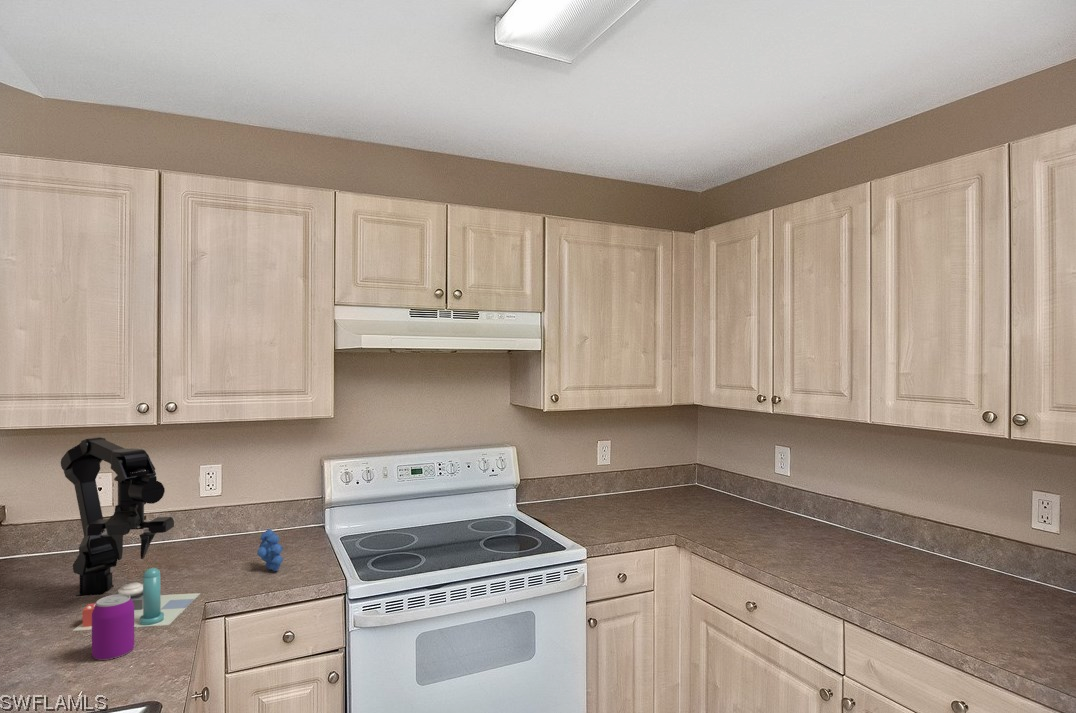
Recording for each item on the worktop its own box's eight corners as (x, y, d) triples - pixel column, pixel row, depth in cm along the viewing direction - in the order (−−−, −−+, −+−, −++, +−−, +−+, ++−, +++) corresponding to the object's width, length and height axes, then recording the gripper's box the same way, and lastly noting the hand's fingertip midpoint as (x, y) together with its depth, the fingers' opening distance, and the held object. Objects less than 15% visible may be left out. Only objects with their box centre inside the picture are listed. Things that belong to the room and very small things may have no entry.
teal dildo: (135, 625, 150) (135, 572, 150) (145, 617, 155) (145, 565, 155) (158, 624, 150) (158, 571, 150) (167, 615, 155) (167, 564, 155)
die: (82, 627, 149) (82, 608, 149) (88, 620, 153) (88, 602, 153) (102, 624, 150) (102, 606, 150) (107, 618, 154) (107, 600, 154)
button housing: (103, 611, 158) (103, 601, 158) (121, 598, 167) (121, 588, 167) (141, 609, 159) (141, 599, 159) (157, 596, 168) (157, 586, 168)
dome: (113, 597, 160) (113, 589, 160) (124, 589, 165) (124, 581, 165) (137, 596, 161) (137, 588, 161) (147, 588, 166) (147, 580, 166)
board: (72, 632, 147) (72, 630, 147) (115, 599, 167) (115, 597, 167) (168, 626, 150) (168, 624, 150) (200, 594, 170) (200, 593, 170)
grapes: (248, 568, 190) (248, 529, 190) (270, 563, 195) (270, 524, 195) (265, 578, 183) (265, 537, 182) (288, 572, 188) (288, 532, 187)
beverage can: (142, 645, 141) (141, 592, 140) (120, 662, 133) (120, 606, 133) (106, 646, 140) (106, 592, 140) (83, 663, 133) (83, 606, 133)
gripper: (73, 508, 153) (73, 571, 153) (156, 505, 156) (156, 567, 156) (97, 497, 164) (98, 557, 164) (174, 495, 167) (174, 553, 167)
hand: (131, 559), depth 163 cm, fingers open, 5 cm apart
